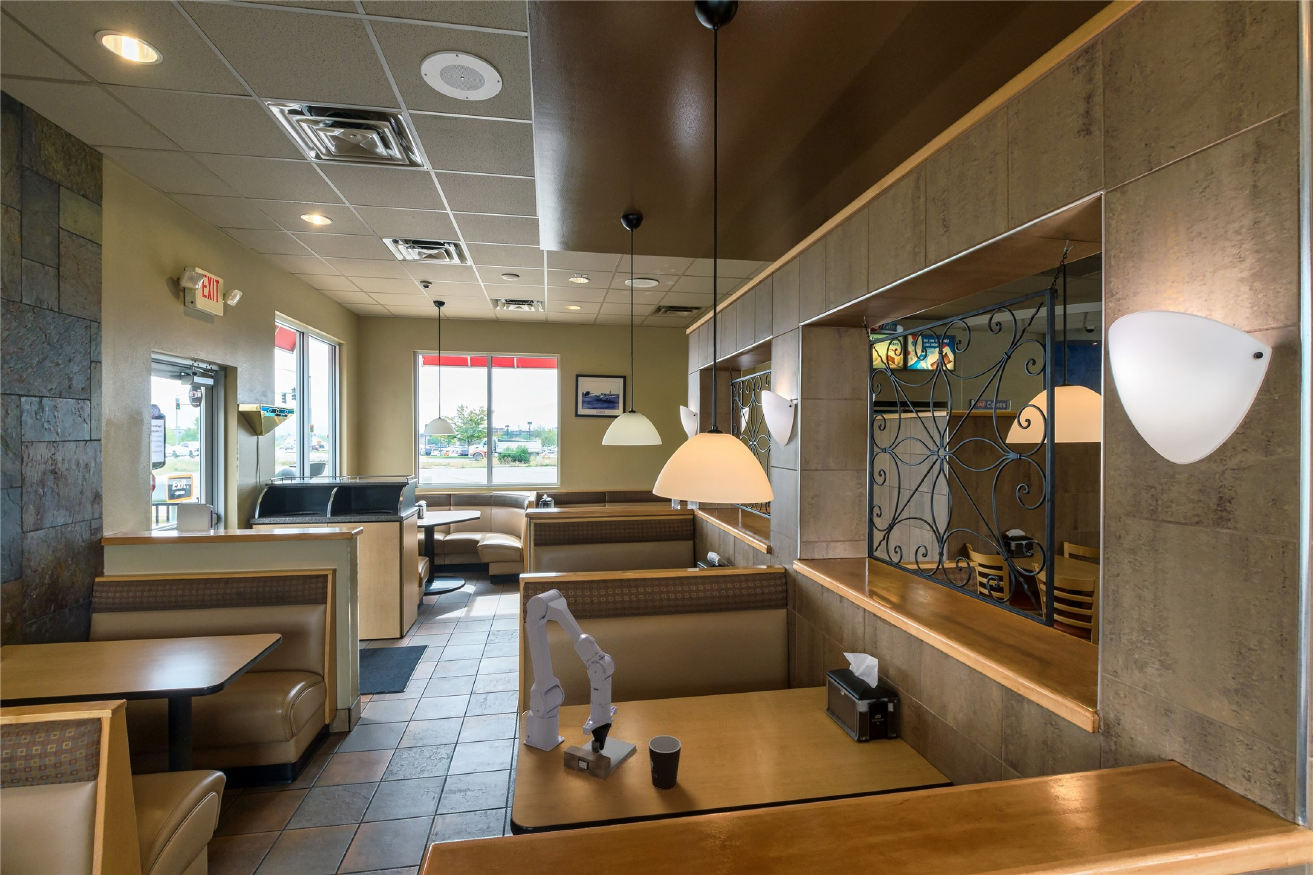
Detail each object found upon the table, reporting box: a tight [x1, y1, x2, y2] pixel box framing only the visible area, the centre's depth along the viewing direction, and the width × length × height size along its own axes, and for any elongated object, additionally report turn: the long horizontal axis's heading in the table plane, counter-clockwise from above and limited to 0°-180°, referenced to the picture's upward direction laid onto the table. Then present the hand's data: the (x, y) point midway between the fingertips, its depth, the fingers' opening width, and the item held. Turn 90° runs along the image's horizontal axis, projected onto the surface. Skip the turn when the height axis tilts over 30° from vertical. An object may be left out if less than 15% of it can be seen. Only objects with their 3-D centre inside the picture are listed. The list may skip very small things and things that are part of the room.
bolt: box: [579, 738, 601, 769], centre depth 153 cm, size 2×7×4 cm, turn 152°
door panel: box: [581, 735, 637, 773], centre depth 159 cm, size 13×14×3 cm
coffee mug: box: [648, 734, 682, 790], centre depth 148 cm, size 12×9×10 cm
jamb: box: [563, 744, 612, 781], centre depth 152 cm, size 13×4×4 cm, turn 63°
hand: (599, 749), depth 157 cm, fingers closed
